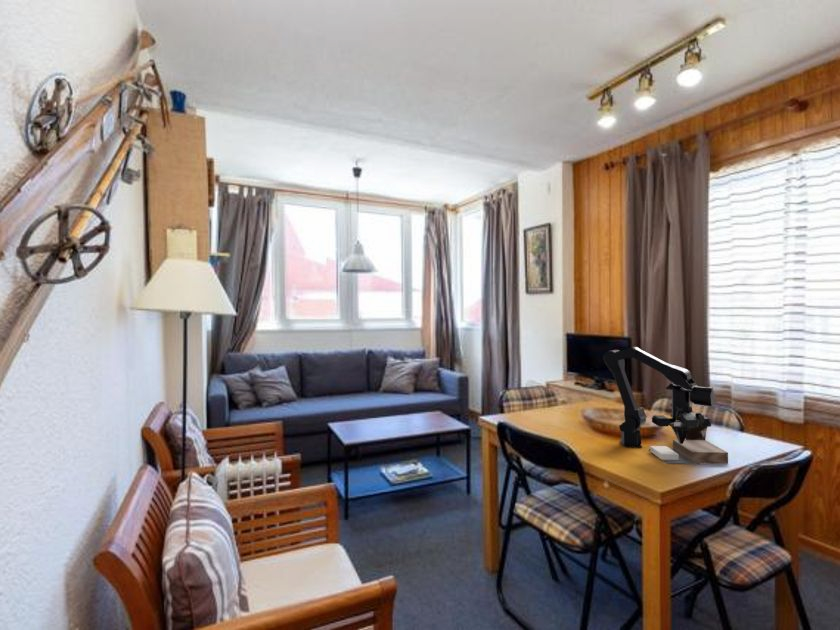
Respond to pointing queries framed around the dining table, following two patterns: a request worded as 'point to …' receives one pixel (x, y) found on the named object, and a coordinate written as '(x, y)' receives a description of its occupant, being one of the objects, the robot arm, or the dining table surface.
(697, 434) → the coffee mug
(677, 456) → the ceramic tile
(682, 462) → the charcoal mat
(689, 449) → the block
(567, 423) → the dining table surface
